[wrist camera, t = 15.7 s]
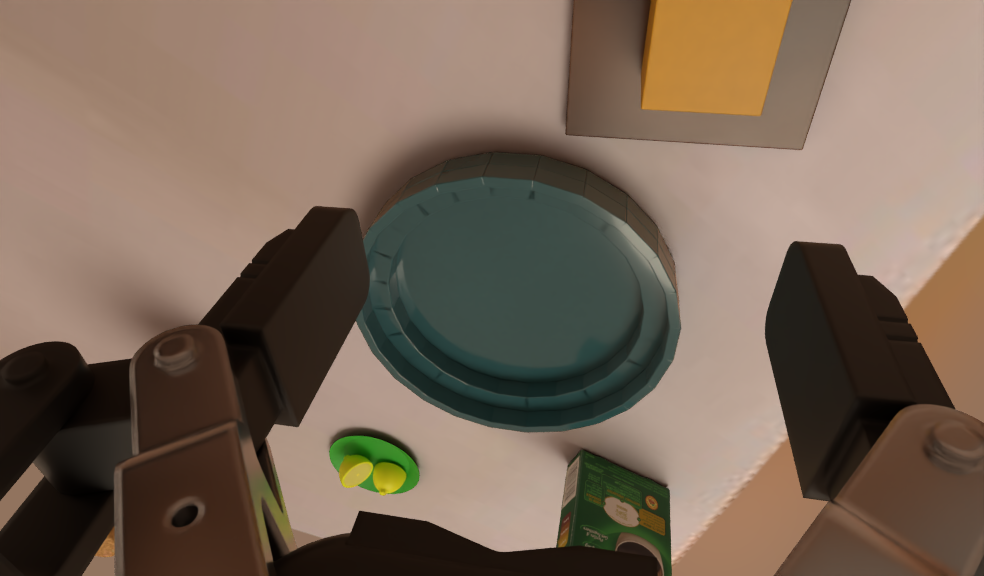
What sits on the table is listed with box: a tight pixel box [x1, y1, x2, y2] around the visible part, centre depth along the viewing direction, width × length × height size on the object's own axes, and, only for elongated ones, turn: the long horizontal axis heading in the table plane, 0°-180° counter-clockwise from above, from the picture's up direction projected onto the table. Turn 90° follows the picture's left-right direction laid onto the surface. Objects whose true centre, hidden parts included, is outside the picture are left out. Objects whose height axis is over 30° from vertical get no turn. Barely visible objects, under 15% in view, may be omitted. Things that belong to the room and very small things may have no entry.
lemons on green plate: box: [329, 436, 420, 496], centre depth 51 cm, size 8×8×3 cm
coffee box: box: [556, 450, 672, 576], centre depth 42 cm, size 8×3×13 cm, turn 67°
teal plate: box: [356, 152, 681, 432], centre depth 36 cm, size 19×19×3 cm
